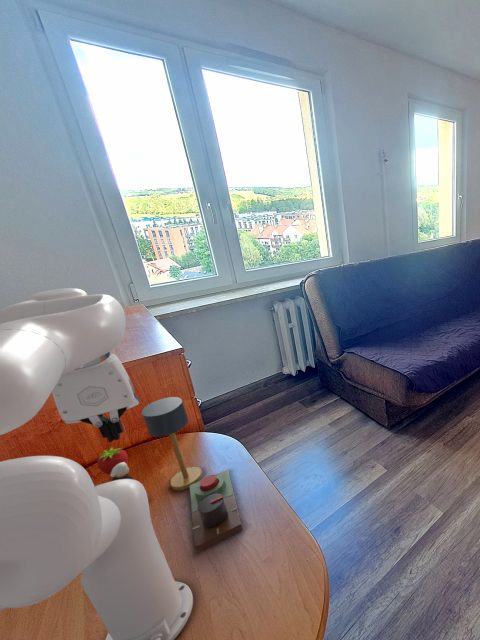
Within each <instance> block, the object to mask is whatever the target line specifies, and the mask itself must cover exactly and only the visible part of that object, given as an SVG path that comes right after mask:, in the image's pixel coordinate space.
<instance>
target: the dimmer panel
mask: <svg viewBox="0 0 480 640" xmlns="http://www.w3.org/2000/svg"><path fill="white" fill-rule="evenodd" d="M234 496H235V494H234V495H232V496H229V497H227V498H225V499H224V501H225V505H226V508H227V512H228V516H227V518H226V520H225V521H224V522H223V523H222V524H220V525H219V526H217V527H214V528H205V527H204V526H203V523H202V520H201V517H200V514H199V511H196V512H194V513H192V512H191V514H190V515H191V523H192V528H191V531H192V535H193V546H194V550H195V552H196V554H199V553H200V552H202V551H204V550H206V549H208V548H210V547H212V546H214V545H216V544H218V543H221V542H222V541H224V540H225V539H226V540H227V539H228V538H230V537H232V536H234V535H236V534H238V533H239V532H242V531H243V530H244V529H243V525H242V521H241V518H240V513H239V510H238V509H239V508H238V505H237V501H236V496H235V497H234Z"/></svg>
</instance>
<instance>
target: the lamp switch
mask: <svg viewBox="0 0 480 640" xmlns="http://www.w3.org/2000/svg"><path fill="white" fill-rule="evenodd" d="M215 475H216V474H210V475H206V476H205V477H203V478H201V480H202V481H201V480H200V481H201V482H200V485H201V488H202V490H203V491H209V490H211V489H213V488H215V487H216V486H217V485H218V480H217V477H216V476H215Z"/></svg>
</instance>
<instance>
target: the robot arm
mask: <svg viewBox="0 0 480 640" xmlns="http://www.w3.org/2000/svg"><path fill="white" fill-rule="evenodd" d="M126 327H127V318H126V313H125V311H124V308H123V306H122V304H121V303H120V302H119V301H118V300H117V299H116V298H115V297H114V296H111V295H109V294H104V293H97V294H96V293H95V294H88V293H87V292H86V291H85V290H83V289H80V288H76V287H64V288H53V289H48V290H43V291H42V290H41V291H39V292H35V293H33V294H30V295H28V296H27V297H26V298H25V300H24V301H20V302H17V303H14V304H9V305H7V306H5V307H3V308H1V309H0V436H2V435H6V434H8V433H9V432H12V431H14V430H16V429H18V428H20V427H22V426H23V425H25V424H26V423H28V422H29V421H30V420H32V419H33V418H34V417H36V415H37V414H38V413H39V412H40V410H42V408H43V406H44V405H45V403H46V401H47V400H48V399H49V397H50V395H51V394H52V398H53V400H54V403H55V406H56V409H57V411H58V414H59V416H60V418H61V419H62V420H63V421H64V423H65V425H66V424H67V425H69V424H70V425H71V424H78V423H79V424H80V423H84V424H88V425H93V427H94V428H97V429H98V430H99V433H100V435H101V437H102V438H103V439H106V440H107V441H108V443H112V442H114V441H119V440H120V439H121V434H122V433H124V431H125V430H124V429H125V428H124V426H123V424H122V421H121V417H122V416H123V415H124V413H125V412H126V411H127V410H130V409H131V408H134V407H136V406H139V404H140V398H139V397H138V396H137V394H136V393H135V387H134V385H133V383H132V380H131V378H130V376H129V374H128V372H127V370H126V368H125V367H124V365H123V363H122V361H120V359H119V357H118V356H117V355H116V354H115V353H111V352H112V351H114V350H115V349H116V348H117V347H119V346H120V344H121V343H122V340H123V339H124V335H125V332H126ZM106 413H108V414H109V418H108V417H106V416H105V414H106ZM149 504H150V503H149V497H148V494H147V490H146V488H145V486H144V485H143V483H141V482H140V481H139V480H137V479H134V478H133V479H120V480H115V481H113V480H111V481H107V482H104V483H100V484H97V485H95V484H94V481H93V480H92V478H91V476H90V474H89V473H88V471H87V470H86V469H85V468H84V466H82V465H81V464H80V463H78V462H76V461H75V460H73V459H70V458H67V457H63V456H56V455H31V456H23V457H17V458H11V459H6V460H2V461H0V611H2V610H5V609H20V608H27V607H30V606H33V605H36V604H38V603H41V602H43V601H45V600H48V599H49V598H50V597H53V596H54V595H56V594H57V593H59V592H60V591H62V590H63V589H64V588H65V587H67V586H68V585H70V583H72V582H73V580H75V578H77V577H78V576H79V575H80V574H81V575H80V584H81V587H82V590H83V592H84V593H85V595H86V596H87V599H88V600H89V601H90V603H91V605H92V607H93V608H94V610H95V612H96V614H97V615H98V617H99V619H100V620H101V622H102V625H104V627H105V630H106V631H107V634H106V637H105V640H175V639H176V638H177V636H178V635H180V633H181V632H182V630H183V629H184V627H185V626H186V624H187V622H188V621H189V618H190V616H191V614H192V611H193V608H194V607H193V606H194V595H193V592H192V589H190V587H189V585H187V584H186V583H184V582H181V581H176V580H175V578H174V576H173V573H172V571H171V569H170V566H169V564H168V562H167V559H166V556H165V553H164V552H163V550H162V547H161V545H160V542H159V540H158V538H157V535H156V532H155V530H154V526H153V523H152V518H151V512H150V505H149Z"/></svg>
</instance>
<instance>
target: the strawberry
mask: <svg viewBox="0 0 480 640" xmlns="http://www.w3.org/2000/svg"><path fill="white" fill-rule="evenodd" d="M124 448H125V446H123V447H118V448H114V447H113V446H112V445H110V446H109V449H103V453H101V454H99V455H98V459H97V461H96V462H97V463H96V464H97V468H98V469H99V470H100V471H101V472H102V473H104V474H106V475H109V476H110V474H111V472H112V470H113V468H114V467H115V466H116V465H117V464H119V463H122V462H125V463H126V464H127V465H128V459H129V458H128V456H129V455H128V454H127V452H126V451H125V450H124Z"/></svg>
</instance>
